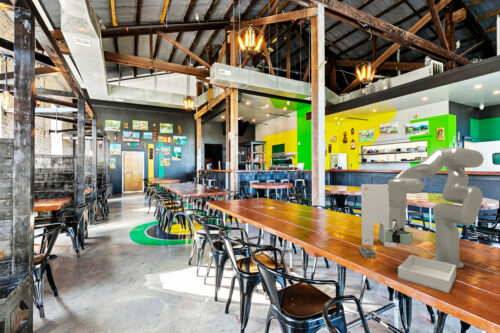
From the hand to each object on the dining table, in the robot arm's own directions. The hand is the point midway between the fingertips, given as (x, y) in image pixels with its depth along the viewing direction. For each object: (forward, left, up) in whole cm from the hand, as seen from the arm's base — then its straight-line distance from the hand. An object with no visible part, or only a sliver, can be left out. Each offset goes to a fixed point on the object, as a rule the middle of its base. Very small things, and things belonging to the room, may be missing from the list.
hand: (398, 240), depth 116 cm
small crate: (0, 0, -1) cm, 1 cm away
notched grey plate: (-39, -24, -15) cm, 49 cm away
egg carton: (-12, -20, -16) cm, 28 cm away
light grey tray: (-2, +11, -15) cm, 19 cm away
